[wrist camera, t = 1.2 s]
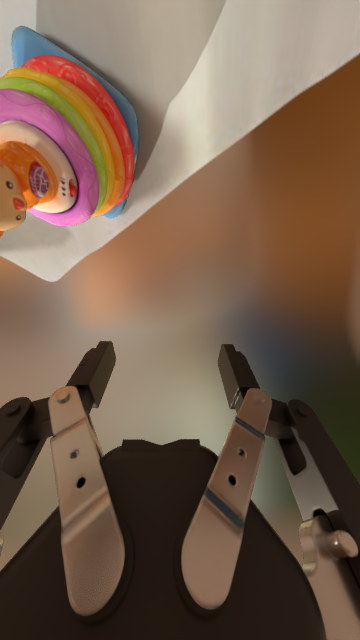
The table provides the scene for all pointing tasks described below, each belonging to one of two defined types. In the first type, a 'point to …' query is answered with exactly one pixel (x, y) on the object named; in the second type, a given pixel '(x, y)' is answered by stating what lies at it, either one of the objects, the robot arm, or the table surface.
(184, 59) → the table surface
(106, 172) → the stacking toy
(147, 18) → the table surface
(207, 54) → the table surface
